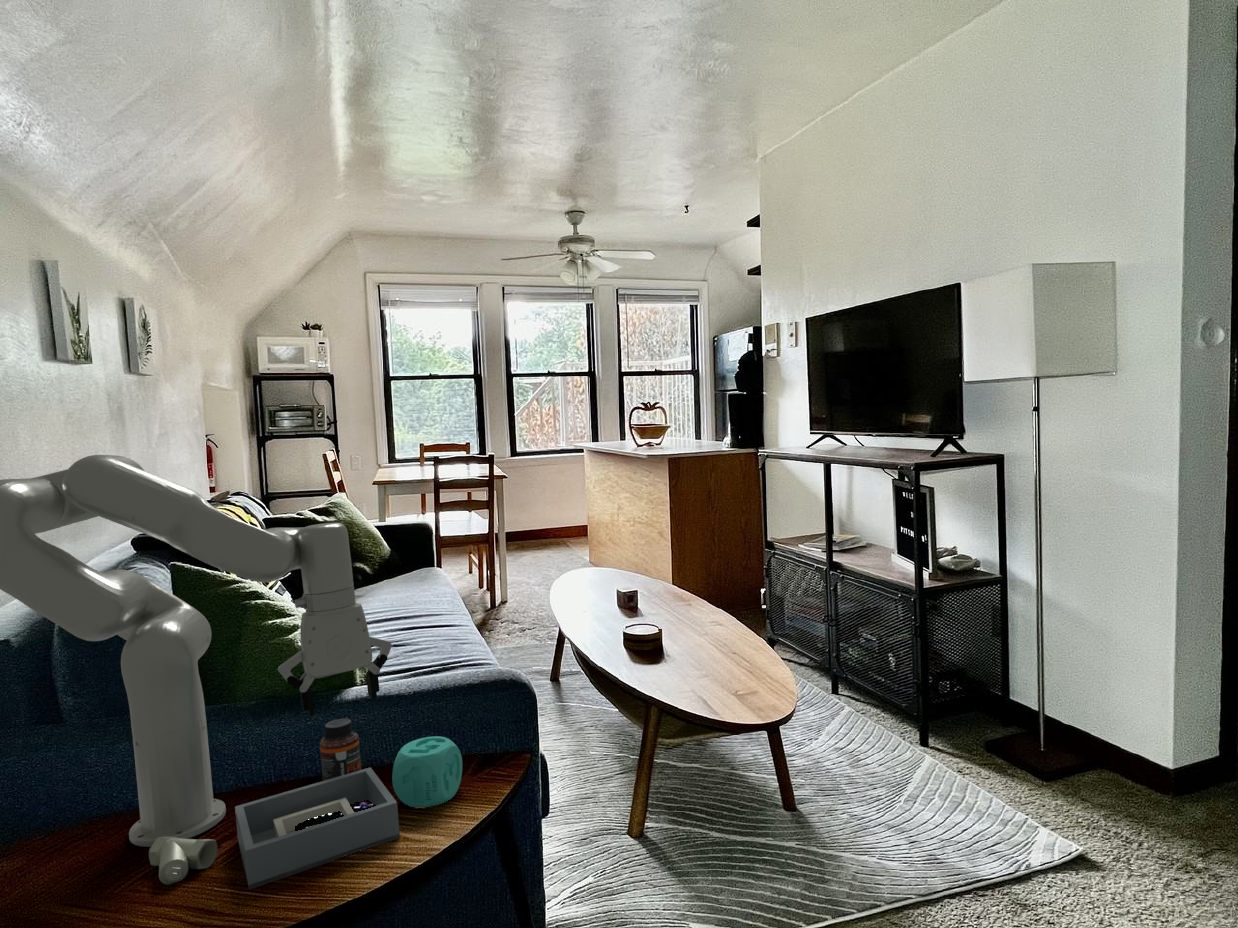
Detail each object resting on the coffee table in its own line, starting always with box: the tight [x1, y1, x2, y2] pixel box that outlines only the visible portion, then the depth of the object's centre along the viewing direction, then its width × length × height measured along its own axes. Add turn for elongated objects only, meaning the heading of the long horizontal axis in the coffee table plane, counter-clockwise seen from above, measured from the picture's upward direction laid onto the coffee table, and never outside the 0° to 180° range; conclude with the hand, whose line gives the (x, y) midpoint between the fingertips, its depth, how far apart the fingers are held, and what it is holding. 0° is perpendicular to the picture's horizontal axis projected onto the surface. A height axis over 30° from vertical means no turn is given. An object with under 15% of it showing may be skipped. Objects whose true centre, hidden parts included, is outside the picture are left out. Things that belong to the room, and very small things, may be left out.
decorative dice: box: [391, 735, 463, 808], centre depth 115 cm, size 8×8×8 cm
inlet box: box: [234, 766, 401, 891], centre depth 104 cm, size 15×19×5 cm
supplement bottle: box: [319, 718, 362, 781], centre depth 119 cm, size 6×6×11 cm
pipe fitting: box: [148, 836, 219, 885], centre depth 99 cm, size 8×4×7 cm
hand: (342, 705), depth 119 cm, fingers open, 9 cm apart
